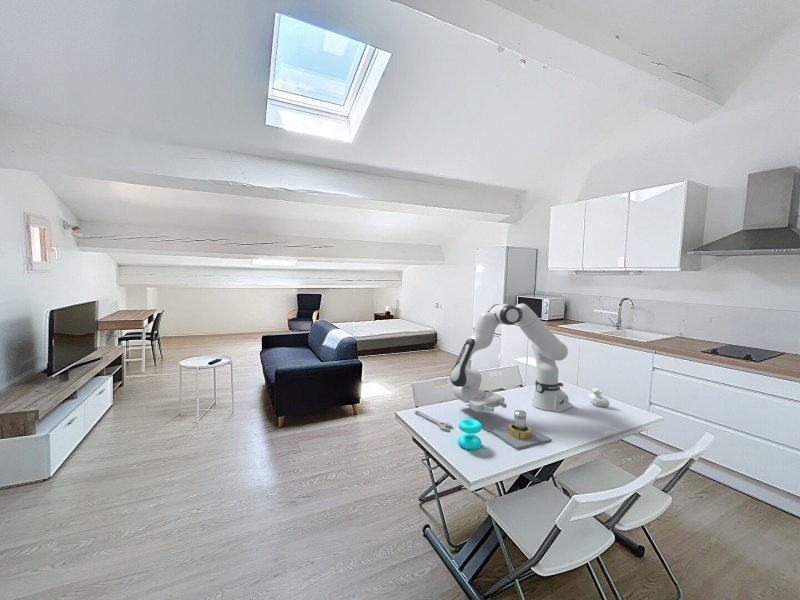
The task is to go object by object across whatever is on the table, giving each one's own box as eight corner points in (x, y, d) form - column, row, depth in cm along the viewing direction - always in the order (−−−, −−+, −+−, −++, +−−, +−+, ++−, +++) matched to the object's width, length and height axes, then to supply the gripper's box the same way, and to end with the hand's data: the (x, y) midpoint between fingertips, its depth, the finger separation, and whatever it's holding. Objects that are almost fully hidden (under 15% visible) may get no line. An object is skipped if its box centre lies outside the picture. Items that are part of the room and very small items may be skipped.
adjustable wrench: (413, 414, 175) (413, 411, 175) (423, 412, 178) (423, 408, 178) (445, 433, 154) (445, 429, 154) (455, 429, 158) (455, 426, 157)
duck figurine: (587, 405, 195) (580, 392, 192) (595, 396, 197) (587, 383, 194) (607, 413, 184) (599, 399, 181) (614, 403, 186) (607, 389, 183)
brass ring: (520, 427, 158) (520, 421, 158) (536, 436, 149) (536, 430, 149) (503, 431, 154) (503, 424, 154) (518, 441, 145) (519, 434, 145)
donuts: (453, 420, 144) (470, 415, 149) (452, 442, 145) (470, 437, 150) (469, 429, 135) (487, 424, 140) (468, 453, 136) (486, 447, 141)
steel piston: (520, 430, 155) (520, 409, 154) (528, 435, 150) (528, 413, 150) (511, 432, 153) (512, 411, 152) (519, 437, 148) (520, 415, 148)
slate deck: (521, 424, 164) (521, 422, 164) (551, 441, 147) (551, 438, 147) (489, 431, 156) (489, 429, 156) (516, 449, 139) (516, 447, 139)
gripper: (463, 396, 166) (484, 406, 154) (491, 389, 177) (513, 397, 166) (463, 409, 166) (484, 419, 155) (491, 401, 178) (512, 410, 166)
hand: (499, 408), depth 160 cm, fingers open, 8 cm apart
